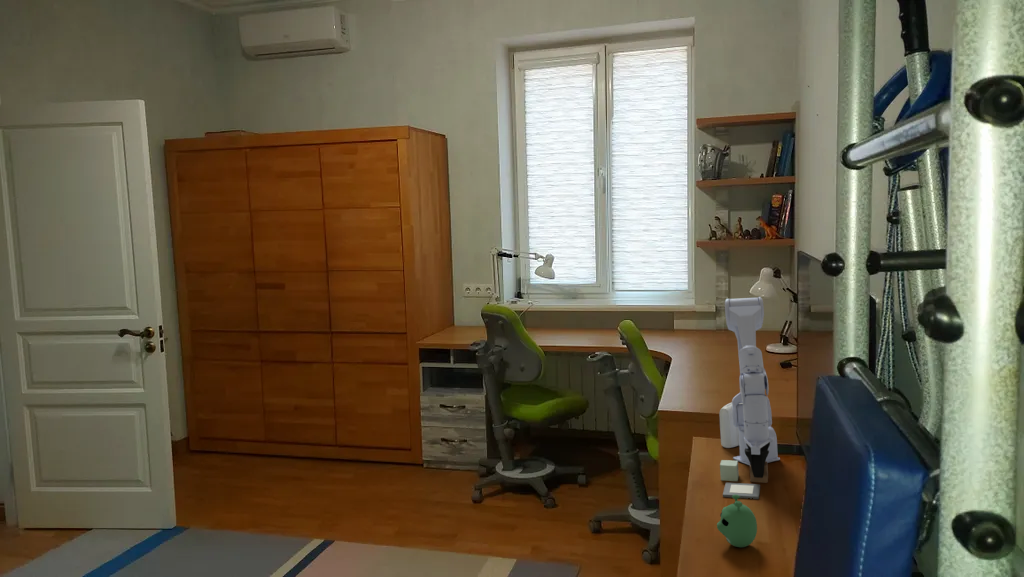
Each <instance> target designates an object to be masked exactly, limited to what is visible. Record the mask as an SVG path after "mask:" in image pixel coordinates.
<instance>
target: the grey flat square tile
mask: <svg viewBox="0 0 1024 577" xmlns="http://www.w3.org/2000/svg"><path fill="white" fill-rule="evenodd" d="M760 491H761V483H740V482H725V485H724V488H723V493H722V497H723V498H732V496H733V495H739V496H740V498H739V499H748V498H750V499H751V500H759V499H760ZM752 498H753V499H752Z"/></svg>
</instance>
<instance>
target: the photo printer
mask: <svg viewBox="0 0 1024 577" xmlns="http://www.w3.org/2000/svg"><path fill="white" fill-rule="evenodd" d="M739 404H743V403H739ZM718 415H719V430H720V444H721V446H722V447H723V448H726V449H730V448H735V447H739V431H738V427H735V426H734V425H733V418H732V401H731V402H729V403H727V404H725V405H723V407H722V408H720V410H719V414H718Z"/></svg>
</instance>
